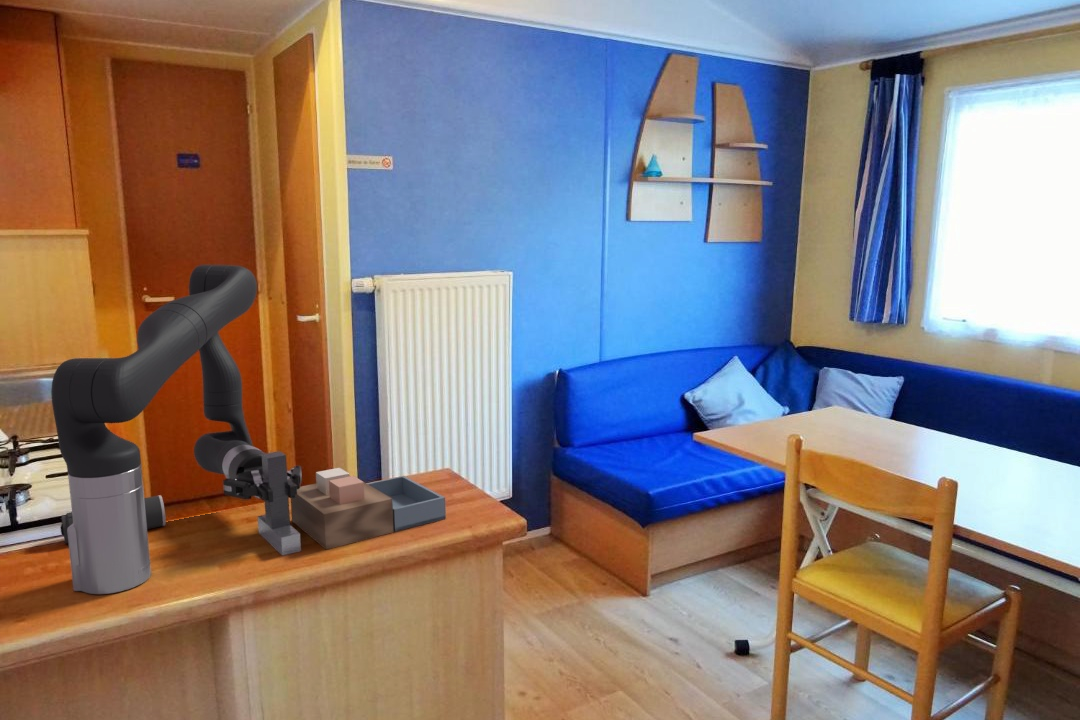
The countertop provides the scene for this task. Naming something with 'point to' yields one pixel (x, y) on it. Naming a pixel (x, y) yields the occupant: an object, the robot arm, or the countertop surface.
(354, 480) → the pink block
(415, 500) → the box
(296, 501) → the marbled brown box
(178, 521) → the countertop surface
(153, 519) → the flashlight
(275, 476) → the dark grey tall part
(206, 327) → the robot arm
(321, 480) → the white block
